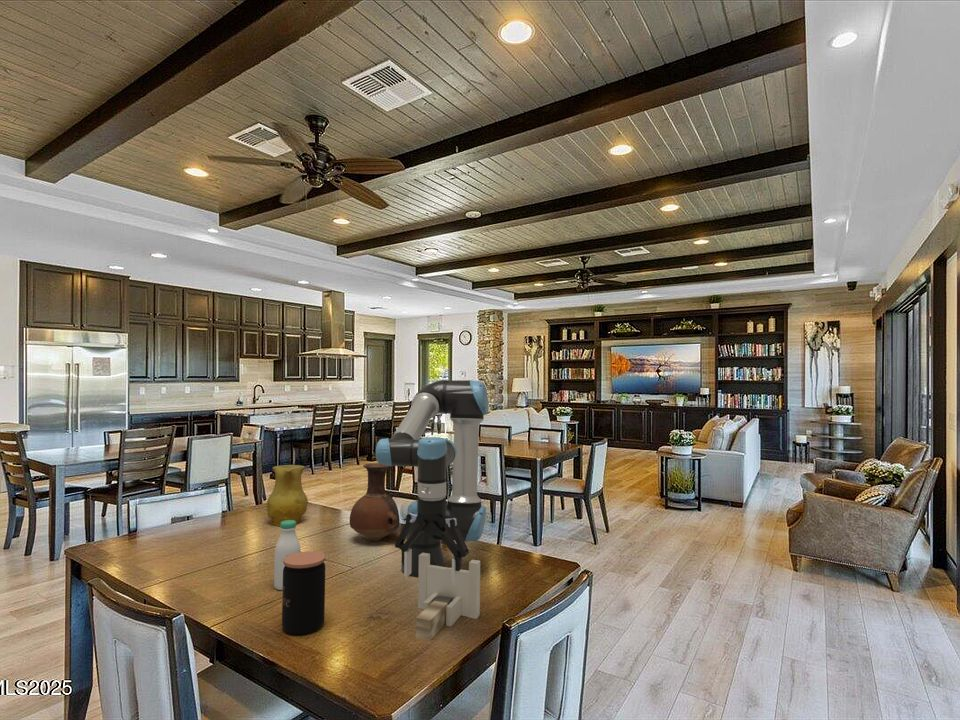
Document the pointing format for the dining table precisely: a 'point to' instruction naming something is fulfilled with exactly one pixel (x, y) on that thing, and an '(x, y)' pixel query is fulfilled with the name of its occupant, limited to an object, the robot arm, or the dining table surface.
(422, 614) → the beige wooden block
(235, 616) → the dining table surface
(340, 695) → the dining table surface
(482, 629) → the dining table surface
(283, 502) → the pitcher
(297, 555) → the coffee jar
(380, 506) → the vase
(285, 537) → the milk bottle
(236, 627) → the dining table surface
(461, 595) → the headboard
